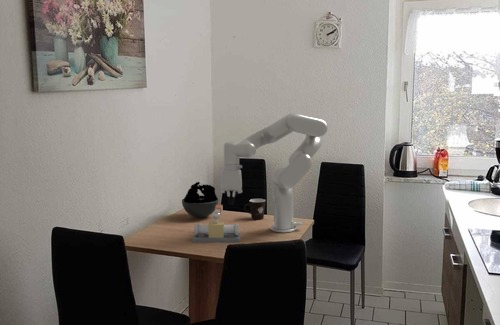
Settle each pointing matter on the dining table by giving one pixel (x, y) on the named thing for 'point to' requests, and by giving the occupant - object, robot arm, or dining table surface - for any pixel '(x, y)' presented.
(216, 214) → the valve lever
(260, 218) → the coffee mug
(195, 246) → the dining table surface
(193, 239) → the valve base
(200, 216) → the bowl of black rocks
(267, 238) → the dining table surface
